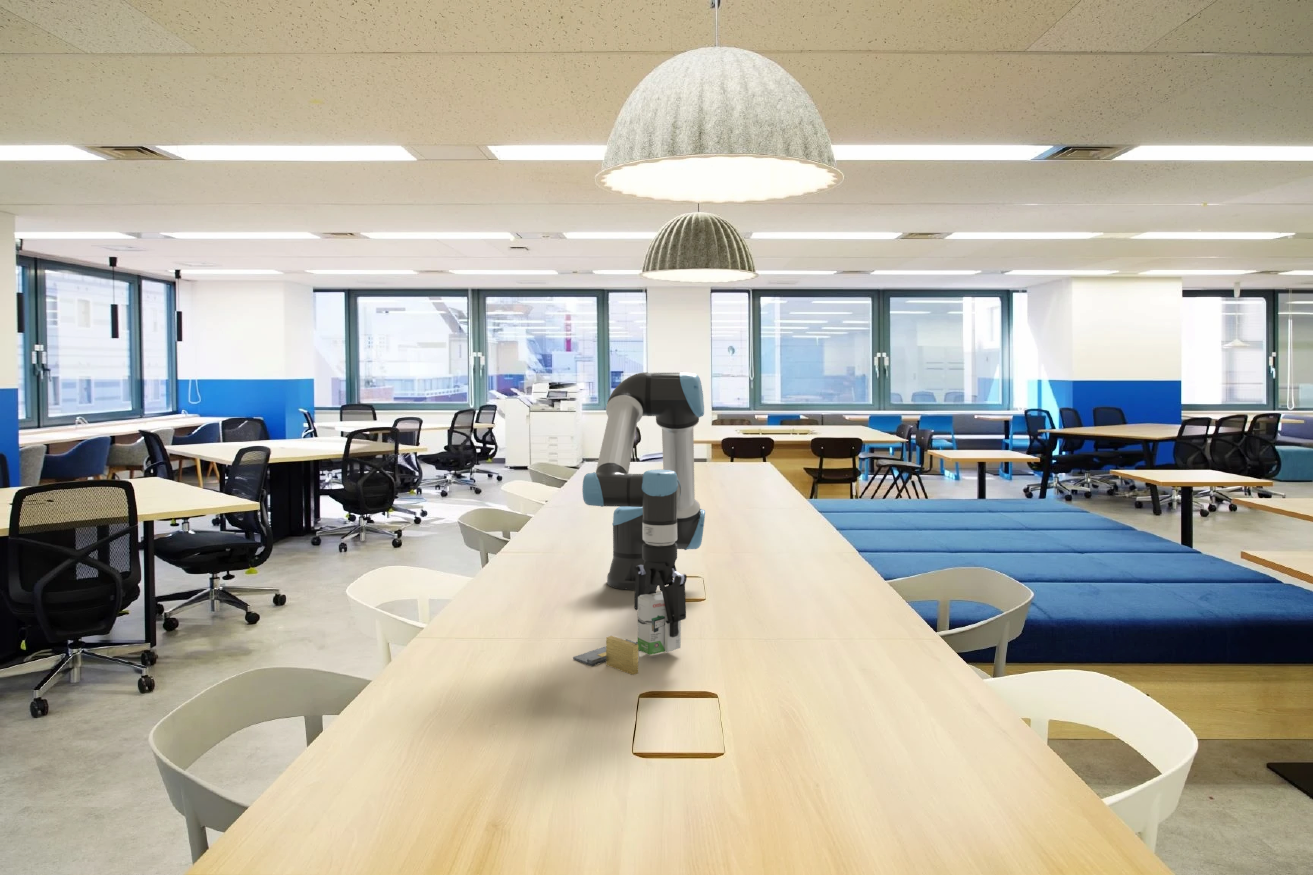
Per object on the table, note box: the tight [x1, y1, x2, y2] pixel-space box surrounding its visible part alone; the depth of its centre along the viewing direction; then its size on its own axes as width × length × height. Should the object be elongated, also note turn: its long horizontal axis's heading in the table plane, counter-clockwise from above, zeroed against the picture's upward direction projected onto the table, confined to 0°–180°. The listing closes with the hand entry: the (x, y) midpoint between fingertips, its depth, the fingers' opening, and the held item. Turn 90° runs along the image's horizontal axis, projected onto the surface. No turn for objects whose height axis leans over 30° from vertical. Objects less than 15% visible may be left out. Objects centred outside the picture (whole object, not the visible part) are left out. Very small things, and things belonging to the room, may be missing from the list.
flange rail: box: [572, 635, 639, 676], centre depth 173 cm, size 16×16×6 cm
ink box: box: [637, 591, 682, 656], centre depth 174 cm, size 9×5×12 cm, turn 124°
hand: (659, 646), depth 175 cm, fingers closed on ink box, 6 cm apart
